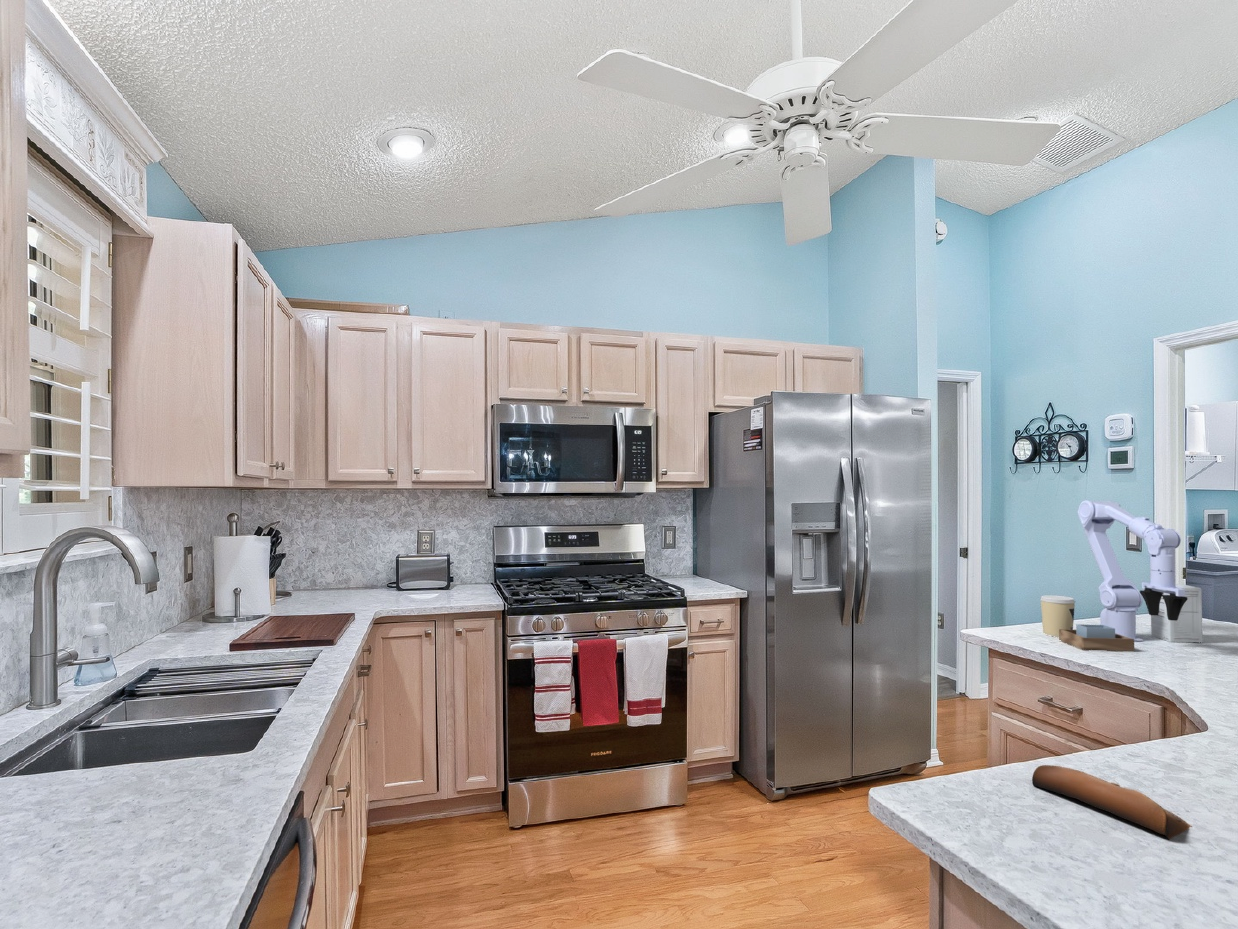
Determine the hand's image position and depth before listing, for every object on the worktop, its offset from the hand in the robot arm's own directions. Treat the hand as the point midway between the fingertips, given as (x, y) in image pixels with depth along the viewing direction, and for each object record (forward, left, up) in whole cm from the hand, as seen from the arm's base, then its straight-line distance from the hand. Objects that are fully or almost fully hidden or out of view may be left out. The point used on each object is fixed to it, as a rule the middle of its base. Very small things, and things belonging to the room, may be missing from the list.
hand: (1163, 617), depth 198 cm
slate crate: (-3, -17, -9) cm, 19 cm away
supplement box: (-16, +15, -10) cm, 24 cm away
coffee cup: (-17, -20, -10) cm, 28 cm away
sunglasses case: (+104, -80, -10) cm, 131 cm away
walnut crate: (-3, -17, -9) cm, 20 cm away
